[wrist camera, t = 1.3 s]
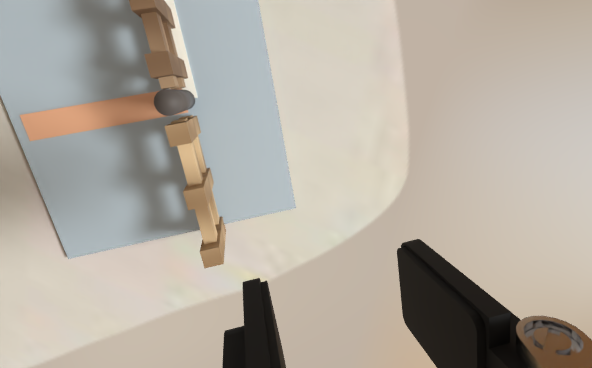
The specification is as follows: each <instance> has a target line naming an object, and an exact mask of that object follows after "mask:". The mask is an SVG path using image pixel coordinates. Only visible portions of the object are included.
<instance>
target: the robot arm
mask: <svg viewBox="0 0 592 368" xmlns="http://www.w3.org/2000/svg"><path fill="white" fill-rule="evenodd" d="M397 257H398V267H399V279H400V289H401V301H402V310H403V318H404V321H405V323H406V325H407V327H408V328H409V330H410V331H411V332H412V334H413V335H414V337H415V338H416V339H417V341H418V342H419V343H420V345H421V346H422V347H423V349H424V350H425V351H426V353H427V354H428V356H429V357H430V359H431V360H432V361H433V363H434V364H435V365H436V367H437V368H592V340H591V339H590V338H589V337H588V336H587V335H586V334H585V333H584V332H582V331H581V330H580V329H578V328H577V327H576V326H574V325H572V324H570V323H568V322H566V321H563V320H560V319H557V318H553V317H547V316H530V317H526V318H524V319H522V320H520V319H519V318H518V317H516V316H515V315H514V314H512V313H511V312H510V311H509V310H508V309H506V308H505V307H504V306H503V305H501V304H500V303H499V302H498V301H496V300H495V299H494V298H493V297H491V296H490V295H489V294H488V293H486V292H485V291H484V290H482V289H481V288H480V287H479V286H478V285H476V284H475V283H474V282H473V281H471V280H470V279H469V278H468V277H466V276H465V275H464V274H463V273H461V272H460V271H459V270H458V269H456V268H455V267H454V266H453V265H451V264H450V263H449V262H447V261H446V260H445V259H444V258H442V257H441V256H440V255H439V254H438V253H436V252H435V251H434V250H433V249H431V248H430V247H429V246H427V245H426V244H425V243H424V242H422V241H421V240H420V239H417V240H413V241H408V242H405V243H402V245H401V248H398V250H397ZM243 306H244V326H242V327H238V328H234V329H230V330H226V331H225V333H224V349H223V368H286V365H285V360H284V355H283V350H282V346H281V341H280V337H279V332H278V328H277V323H276V319H275V314H274V310H273V306H272V301H271V296H270V292H269V288H268V283H267V281H265V282H261V281H260V278H258V279H253V280H249V281H245V282H243Z"/></svg>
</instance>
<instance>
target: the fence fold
mask: <svg viewBox="0 0 592 368" xmlns="http://www.w3.org/2000/svg"><path fill="white" fill-rule="evenodd" d="M164 127H165V130H166V134H167V137H168V141H169V144H170V147H174V146H177V147H178V151H179V155H180V158H181V162H182V166H183V169H184V173H185V176H186V180H187V185H186V187H185V189H184V191H183V194H184V197H185V201H186V204H187V208H188V210H192V209H195V212H196V216H197V220H198V223H199V227H200V231H201V234H202V238H203V240H202V245H201V249H200V254H201V257H202V261H203V264H204V268H208V267H212V266H216V265H221V264H223V263H224V249H225V235H226V229H225V225H224V221H223V217H219V214H218V211H217V207H216V203H215V199H214V195H213V191H212V188H213V184H214V181H213V177H212V173H211V169H210V168H206V164H205V160H204V156H203V152H202V148H201V144H200V140H199V136H198V135H199V134H200V133H201V130H200V126H199V122H198V118H197V116H193V115H190V116H185V117H181V118H179V119H178V120H175V121H172V122H171V123H170V124H168V125H166V126H164Z"/></svg>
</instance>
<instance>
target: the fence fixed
mask: <svg viewBox="0 0 592 368" xmlns="http://www.w3.org/2000/svg"><path fill="white" fill-rule="evenodd" d="M129 3H130V6H131V10H132V11H133V12H134V13H135V14H137V15H138V16H139V17H141V18H142V21H143V25H144V28H145V32H146V36H147V39H148V43H149V46H150V50H151V53H149V54H144V56H145V59H146V63H147V66H148V70H149V74H150V77H151V78H154V79H159V83H160V86H161V89H163V90H160V91H159V92H157V94H156V95H155V97H154V106H155V108H156V110H157V111H158V112H159V113H161V114H162V115H165V116H172V115H175V114H178V113H181V112H183V111H186V110H188V109H191V108H192V107H193V106H194V104H195V97H194V95H193V94H192V93H191V92H190V91H188V90H177V89H179V88H185V87H186V86H185V82H184V79H187V78H188V75H187V71H186V67H185V63H184V60H182V59H181V58H179V57H178V54H177V50H176V46H175V43H174V39H173V35H172V31H171V29H173V28H176V27H175V23H174V19H173V15H172V11H171V8H170V7H169V6H168V5H167V3H166V2H165V1H164V0H129ZM169 88H171V89H169Z"/></svg>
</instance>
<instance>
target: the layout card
mask: <svg viewBox="0 0 592 368" xmlns="http://www.w3.org/2000/svg"><path fill="white" fill-rule="evenodd" d="M164 1H165V2H166V3H167V5H168V6H169V7H170V8H171V11H172V15H173V19H174V23H175V27H176V28H173V29H171V31H172V35H173V39H174V43H175V46H176V50H177V54H178V57H179V58H181V59H182V60H184V63H185V67H186V71H187V75H188V78H187V79H184V82H185V86H186V87H185V88H179V89H177V90H188V91H190V92H191V93H192V94H193V95H194V97H195V104H194V106H193V107H192V108H191V109H188V110H186V111H183V112H181V113H178V114H175V115H172V116H165V115H162V114H161V113H159V112H158V111H157V110H156V108H155V106H154V97H155V95H156V94H157V92H159V91H160V90H163V89H161V86H160V83H159V79H154V78H151V77H150V74H149V70H148V66H147V63H146V59H145V56H144V54H149V53H151V50H150V46H149V43H148V39H147V36H146V32H145V28H144V25H143V21H142V18H141V17H139V16H138V15H137V14H135V13H134V12H133V11H132V10H131V6H130V3H129V0H0V96H1V98H2V100H3V103H4V105H5V108H6V110H7V112H8V115H9V117H10V120H11V122H12V125H13V127H14V129H15V132H16V134H17V137H18V139H19V141H20V144H21V146H22V149H23V151H24V153H25V156H26V158H27V161H28V163H29V166H30V168H31V170H32V173H33V175H34V178H35V180H36V182H37V185H38V187H39V190H40V192H41V195H42V197H43V199H44V202H45V204H46V207H47V209H48V211H49V214H50V216H51V219H52V221H53V223H54V226H55V228H56V231H57V233H58V236H59V238H60V240H61V243H62V245H63V248H64V250H65V252H66V255H67V257H68V259H70V258H75V257H79V256H84V255H88V254H93V253H97V252H102V251H106V250H111V249H115V248H120V247H124V246H129V245H133V244H137V243H142V242H146V241H151V240H155V239H160V238H164V237H169V236H173V235H178V234H182V233H187V232H191V231H196V230H200V227H199V223H198V220H197V216H196V212H195V209H192V210H188V208H187V204H186V201H185V197H184V194H183V191H184V189H185V187H186V185H187V180H186V176H185V173H184V169H183V166H182V162H181V158H180V155H179V151H178V147H177V146H174V147H170V144H169V141H168V137H167V134H166V130H165V127H164V126H166V125H168V124H170V123H171V122H172V121H175V120H178V119H179V118H181V117H185V116H190V115H193V116H197V118H198V122H199V126H200V130H201V133H200V134H199V135H198V136H199V140H200V144H201V148H202V152H203V156H204V160H205V164H206V168H210V169H211V173H212V177H213V181H214V184H213V188H212V191H213V195H214V199H215V203H216V207H217V211H218V214H219V217H223V221H224V224H227V223H231V222H236V221H240V220H245V219H249V218H254V217H258V216H263V215H267V214H272V213H276V212H281V211H285V210H290V209H294V208H296V205H295V200H294V194H293V189H292V183H291V178H290V172H289V167H288V161H287V156H286V150H285V145H284V139H283V134H282V128H281V123H280V117H279V112H278V106H277V101H276V95H275V90H274V85H273V79H272V74H271V68H270V63H269V57H268V52H267V46H266V41H265V35H264V30H263V24H262V19H261V13H260V8H259V2H258V0H164ZM169 89H171V88H169Z"/></svg>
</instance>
